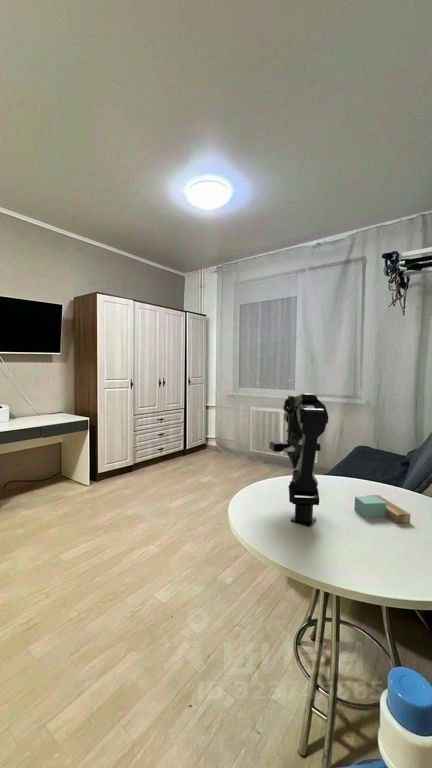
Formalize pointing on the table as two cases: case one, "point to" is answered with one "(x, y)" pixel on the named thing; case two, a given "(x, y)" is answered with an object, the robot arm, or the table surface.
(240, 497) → the table surface
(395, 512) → the board
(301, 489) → the robot arm
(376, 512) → the block
